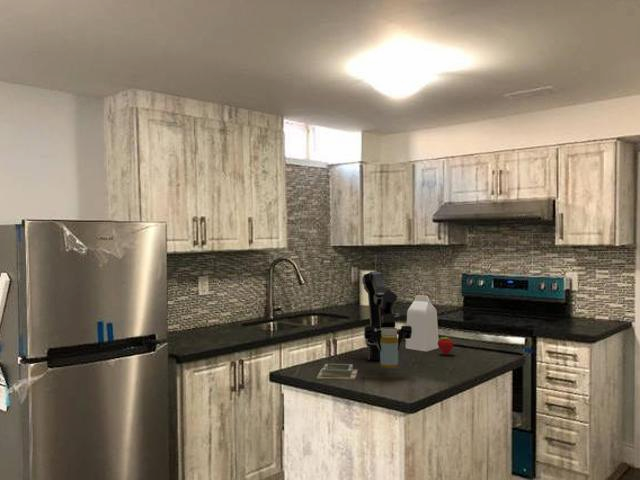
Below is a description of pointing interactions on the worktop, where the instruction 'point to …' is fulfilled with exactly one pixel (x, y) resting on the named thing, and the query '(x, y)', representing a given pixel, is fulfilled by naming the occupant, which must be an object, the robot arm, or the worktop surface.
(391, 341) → the bottle
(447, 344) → the strawberry
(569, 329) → the worktop surface
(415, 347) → the milk
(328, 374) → the square rimmed tray
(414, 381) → the worktop surface
